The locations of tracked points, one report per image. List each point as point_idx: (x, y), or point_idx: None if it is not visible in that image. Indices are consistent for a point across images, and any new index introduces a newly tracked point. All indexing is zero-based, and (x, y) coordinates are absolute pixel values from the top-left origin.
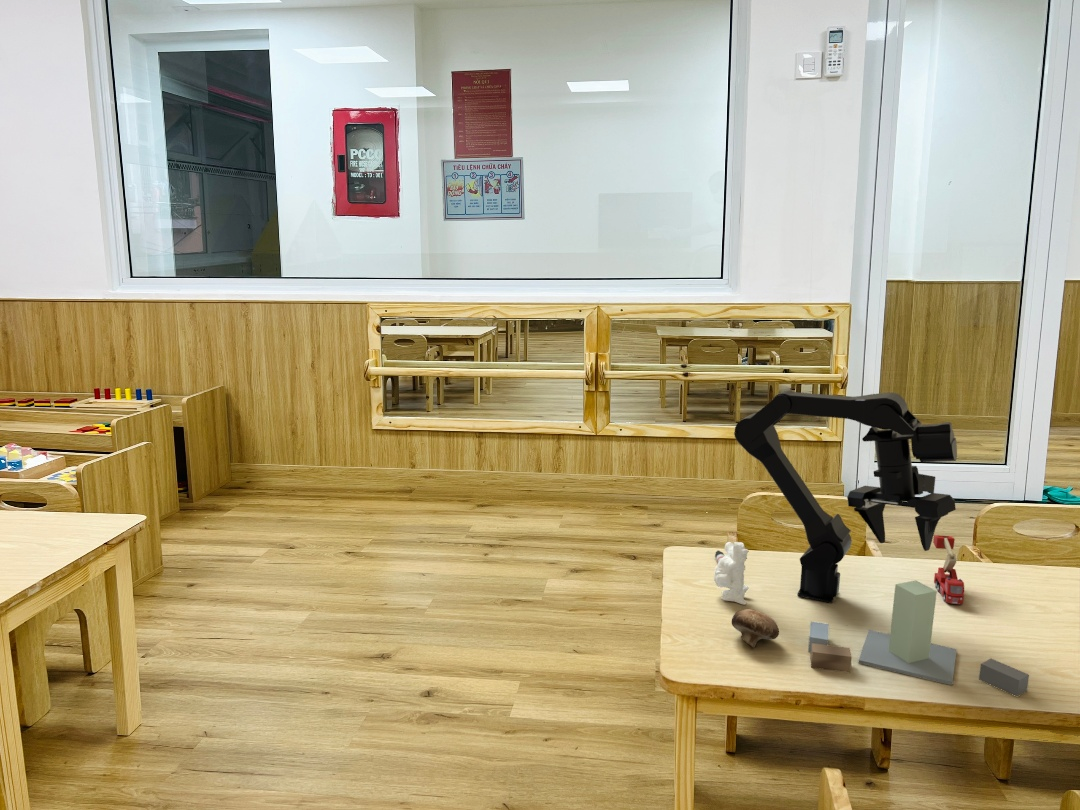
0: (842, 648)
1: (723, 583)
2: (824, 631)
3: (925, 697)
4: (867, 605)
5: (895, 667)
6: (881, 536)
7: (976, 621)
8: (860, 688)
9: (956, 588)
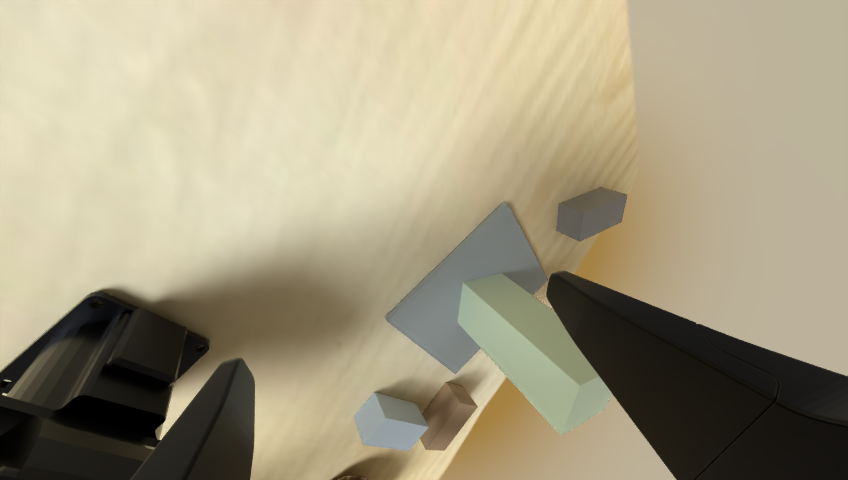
0: (457, 413)
1: None
2: (405, 428)
3: None
4: (248, 247)
5: None
6: (244, 424)
7: (446, 3)
8: (490, 384)
9: None
